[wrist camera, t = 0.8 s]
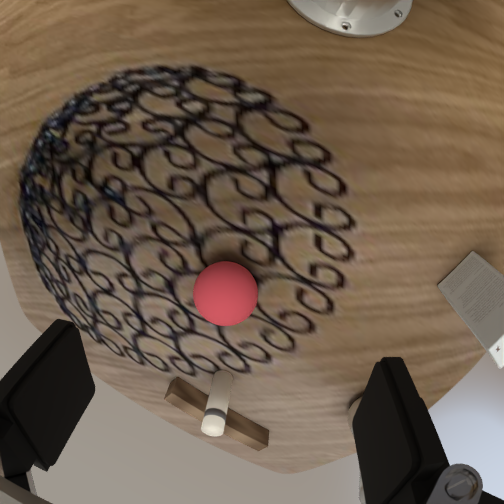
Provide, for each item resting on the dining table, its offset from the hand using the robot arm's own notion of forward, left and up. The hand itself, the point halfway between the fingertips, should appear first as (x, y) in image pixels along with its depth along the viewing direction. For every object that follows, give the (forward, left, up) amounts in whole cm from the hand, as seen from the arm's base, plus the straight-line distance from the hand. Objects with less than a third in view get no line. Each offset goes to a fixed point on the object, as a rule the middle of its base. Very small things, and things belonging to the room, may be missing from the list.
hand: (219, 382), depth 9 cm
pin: (+22, -2, -22) cm, 31 cm away
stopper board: (+29, -2, -22) cm, 36 cm away
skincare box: (+5, +24, -22) cm, 33 cm away
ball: (+8, -2, -19) cm, 21 cm away
